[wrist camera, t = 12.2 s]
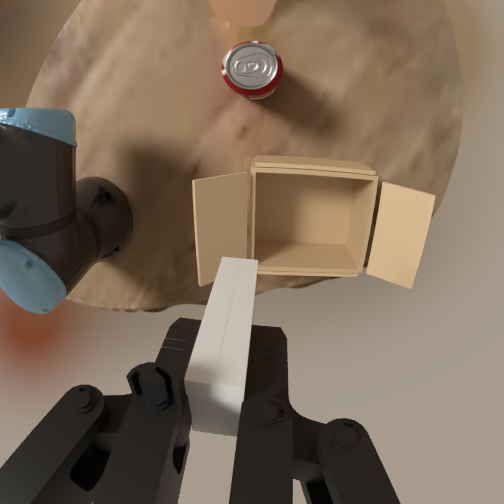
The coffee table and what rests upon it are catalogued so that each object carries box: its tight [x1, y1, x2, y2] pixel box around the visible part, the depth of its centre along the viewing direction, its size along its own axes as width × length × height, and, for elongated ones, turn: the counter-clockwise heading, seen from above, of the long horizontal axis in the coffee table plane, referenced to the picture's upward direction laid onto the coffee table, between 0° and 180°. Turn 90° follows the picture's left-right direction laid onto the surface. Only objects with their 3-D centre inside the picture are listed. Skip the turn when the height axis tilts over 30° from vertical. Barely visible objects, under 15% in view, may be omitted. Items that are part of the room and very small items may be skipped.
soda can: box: [222, 41, 283, 99], centre depth 32 cm, size 7×7×12 cm
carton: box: [249, 155, 379, 277], centre depth 42 cm, size 16×15×9 cm
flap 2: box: [366, 182, 436, 289], centre depth 35 cm, size 7×13×1 cm
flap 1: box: [192, 172, 248, 286], centre depth 35 cm, size 7×13×1 cm
